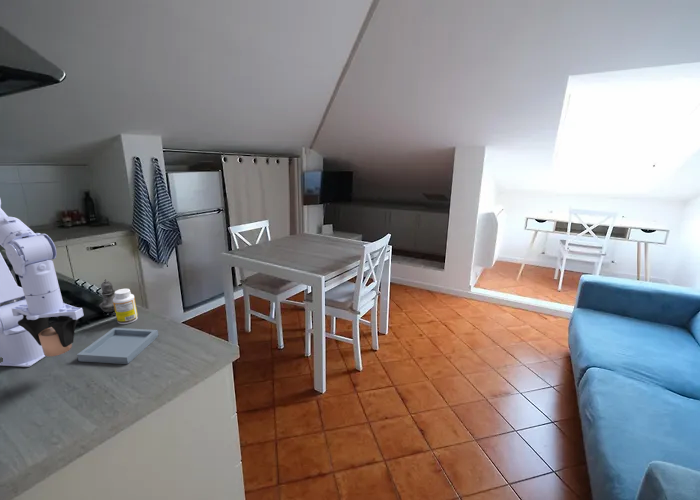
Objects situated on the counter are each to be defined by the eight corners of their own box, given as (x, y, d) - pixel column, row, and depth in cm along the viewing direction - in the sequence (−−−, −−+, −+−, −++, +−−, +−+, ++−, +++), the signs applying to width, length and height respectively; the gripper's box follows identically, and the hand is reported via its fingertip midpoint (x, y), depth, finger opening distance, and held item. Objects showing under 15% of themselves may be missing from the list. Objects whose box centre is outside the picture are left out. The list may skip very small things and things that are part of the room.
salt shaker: (112, 318, 104) (104, 283, 100) (96, 316, 105) (88, 281, 101) (127, 309, 109) (121, 276, 106) (112, 307, 111) (105, 274, 107)
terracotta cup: (37, 355, 74) (32, 336, 72) (62, 339, 80) (57, 321, 78) (59, 357, 74) (53, 337, 72) (82, 341, 80) (78, 322, 78)
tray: (78, 361, 84) (76, 354, 83) (115, 333, 96) (114, 327, 95) (128, 364, 83) (126, 357, 83) (158, 336, 96) (157, 330, 95)
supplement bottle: (125, 315, 106) (119, 286, 103) (142, 316, 106) (137, 287, 103) (112, 324, 101) (106, 294, 97) (131, 325, 101) (125, 295, 97)
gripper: (-10, 296, 68) (8, 352, 72) (57, 300, 68) (72, 356, 72) (23, 282, 75) (38, 334, 79) (85, 286, 74) (97, 338, 78)
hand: (56, 343), depth 76 cm, fingers closed on terracotta cup, 5 cm apart
